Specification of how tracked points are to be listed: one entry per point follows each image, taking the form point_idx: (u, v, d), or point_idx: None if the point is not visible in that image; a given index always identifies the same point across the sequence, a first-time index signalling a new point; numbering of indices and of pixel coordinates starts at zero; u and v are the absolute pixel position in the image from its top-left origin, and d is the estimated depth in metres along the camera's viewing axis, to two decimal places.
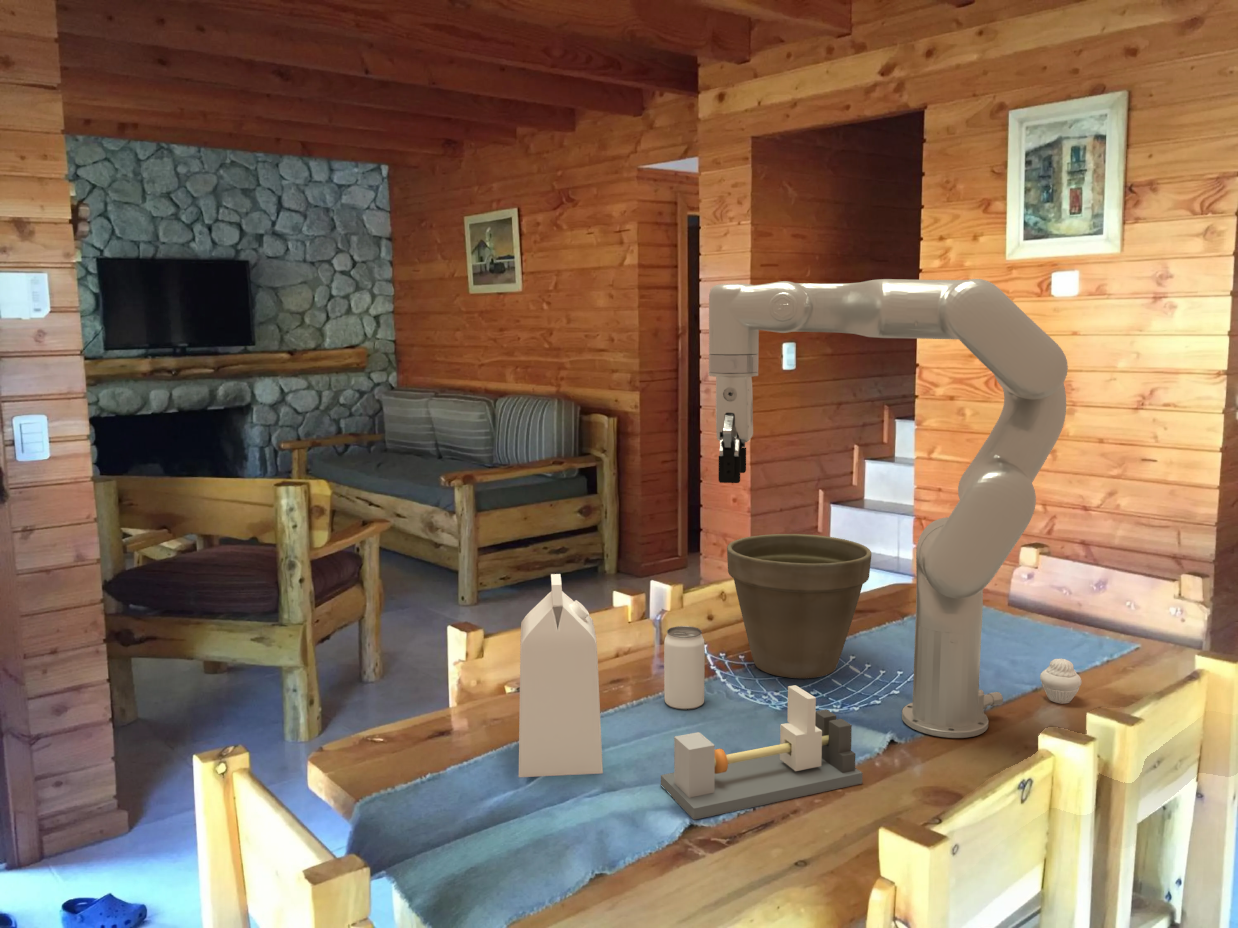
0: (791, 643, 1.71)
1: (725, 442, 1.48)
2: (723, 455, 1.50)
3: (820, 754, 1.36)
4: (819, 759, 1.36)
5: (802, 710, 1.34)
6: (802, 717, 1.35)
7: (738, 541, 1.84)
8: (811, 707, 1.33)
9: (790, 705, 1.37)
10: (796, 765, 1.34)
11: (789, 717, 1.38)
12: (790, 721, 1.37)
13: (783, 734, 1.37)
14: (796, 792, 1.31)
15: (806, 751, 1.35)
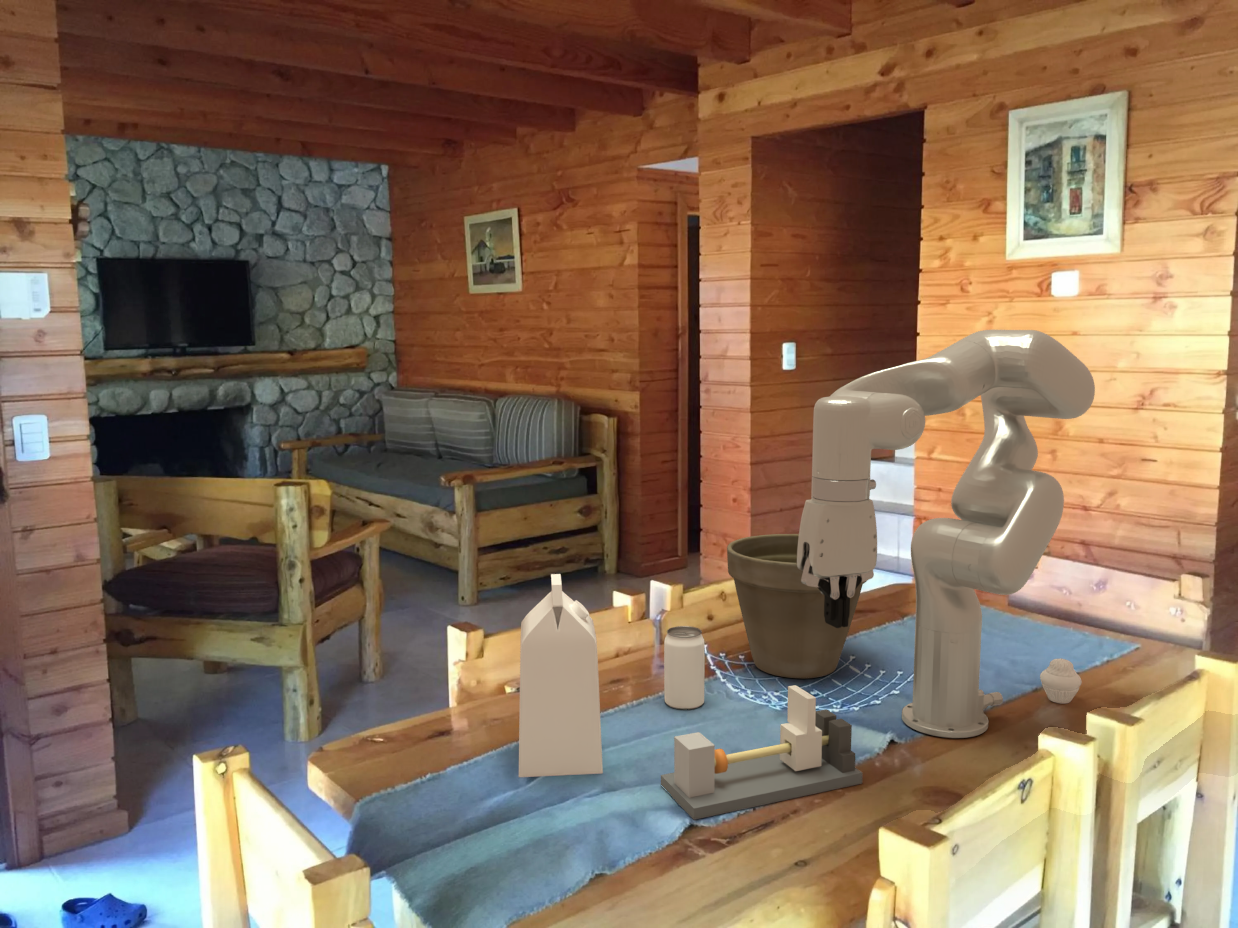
0: (791, 643, 1.71)
1: (860, 581, 1.36)
2: None
3: (820, 754, 1.36)
4: (819, 759, 1.36)
5: (802, 710, 1.34)
6: (802, 717, 1.35)
7: (738, 541, 1.84)
8: (811, 707, 1.33)
9: (790, 705, 1.37)
10: (796, 765, 1.34)
11: (789, 717, 1.38)
12: (790, 721, 1.37)
13: (783, 734, 1.37)
14: (796, 792, 1.31)
15: (806, 751, 1.35)
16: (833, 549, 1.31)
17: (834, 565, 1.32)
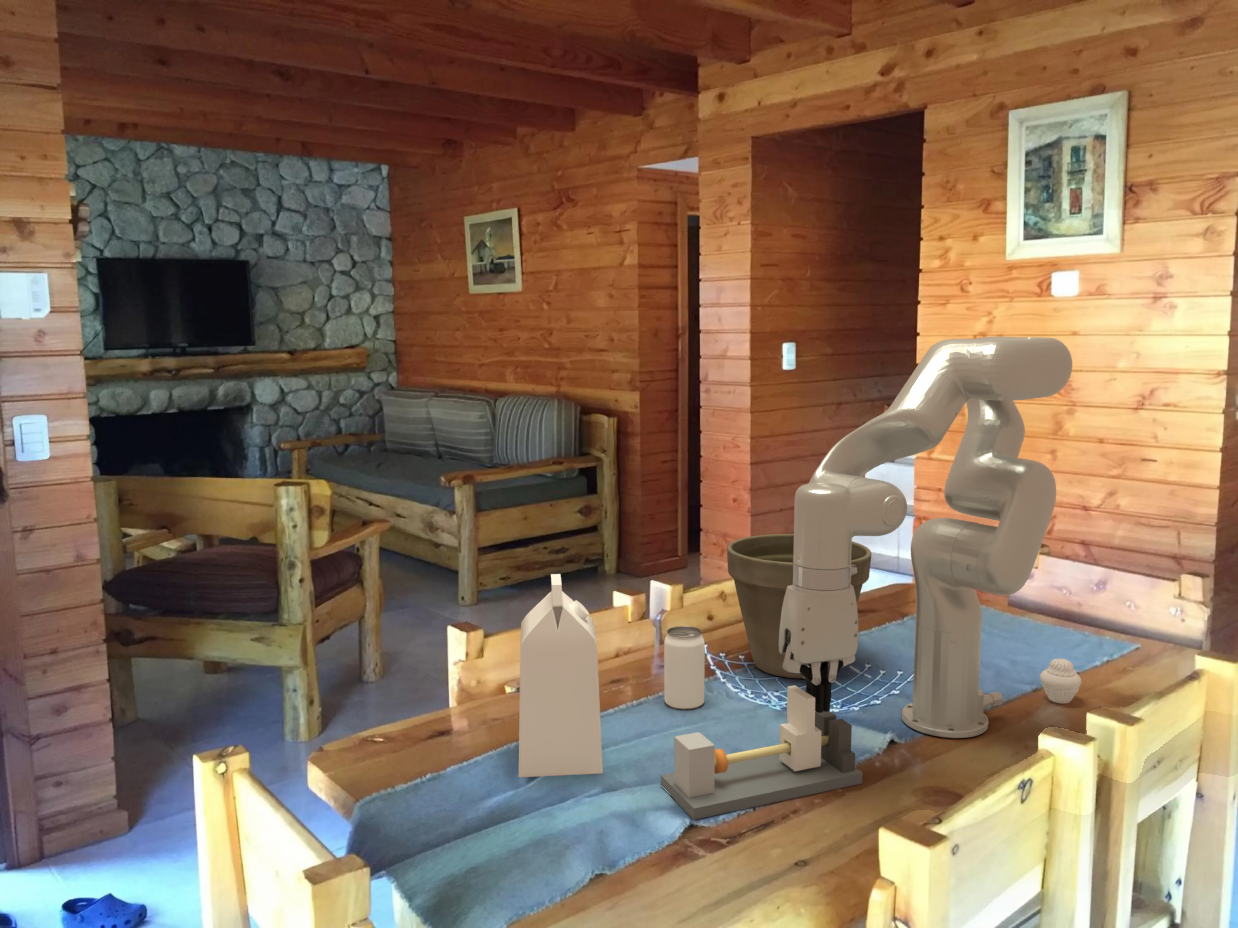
0: None
1: None
2: None
3: (820, 754, 1.36)
4: (818, 759, 1.36)
5: (802, 710, 1.34)
6: (801, 717, 1.35)
7: (738, 541, 1.84)
8: (810, 707, 1.33)
9: (790, 705, 1.37)
10: (796, 765, 1.34)
11: (788, 717, 1.38)
12: (789, 721, 1.37)
13: (783, 734, 1.37)
14: (796, 792, 1.31)
15: (806, 751, 1.35)
16: (814, 637, 1.32)
17: (815, 652, 1.33)
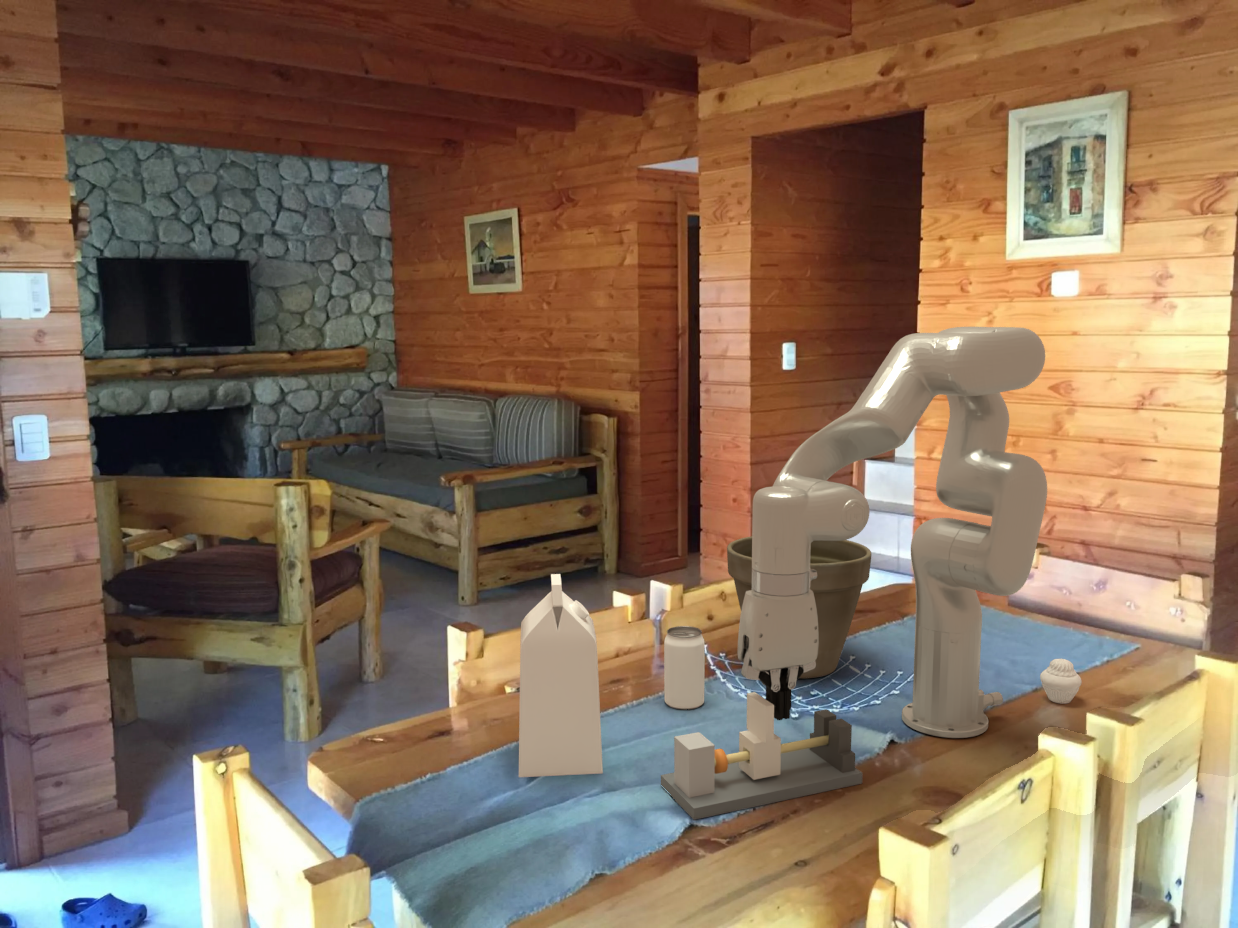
0: None
1: None
2: None
3: (779, 762, 1.33)
4: (778, 767, 1.33)
5: (760, 718, 1.32)
6: (760, 725, 1.32)
7: (738, 541, 1.84)
8: (769, 714, 1.31)
9: (749, 712, 1.35)
10: (754, 774, 1.32)
11: (748, 724, 1.35)
12: (749, 728, 1.35)
13: (742, 742, 1.34)
14: (796, 792, 1.31)
15: (765, 759, 1.32)
16: (772, 643, 1.30)
17: (774, 658, 1.30)
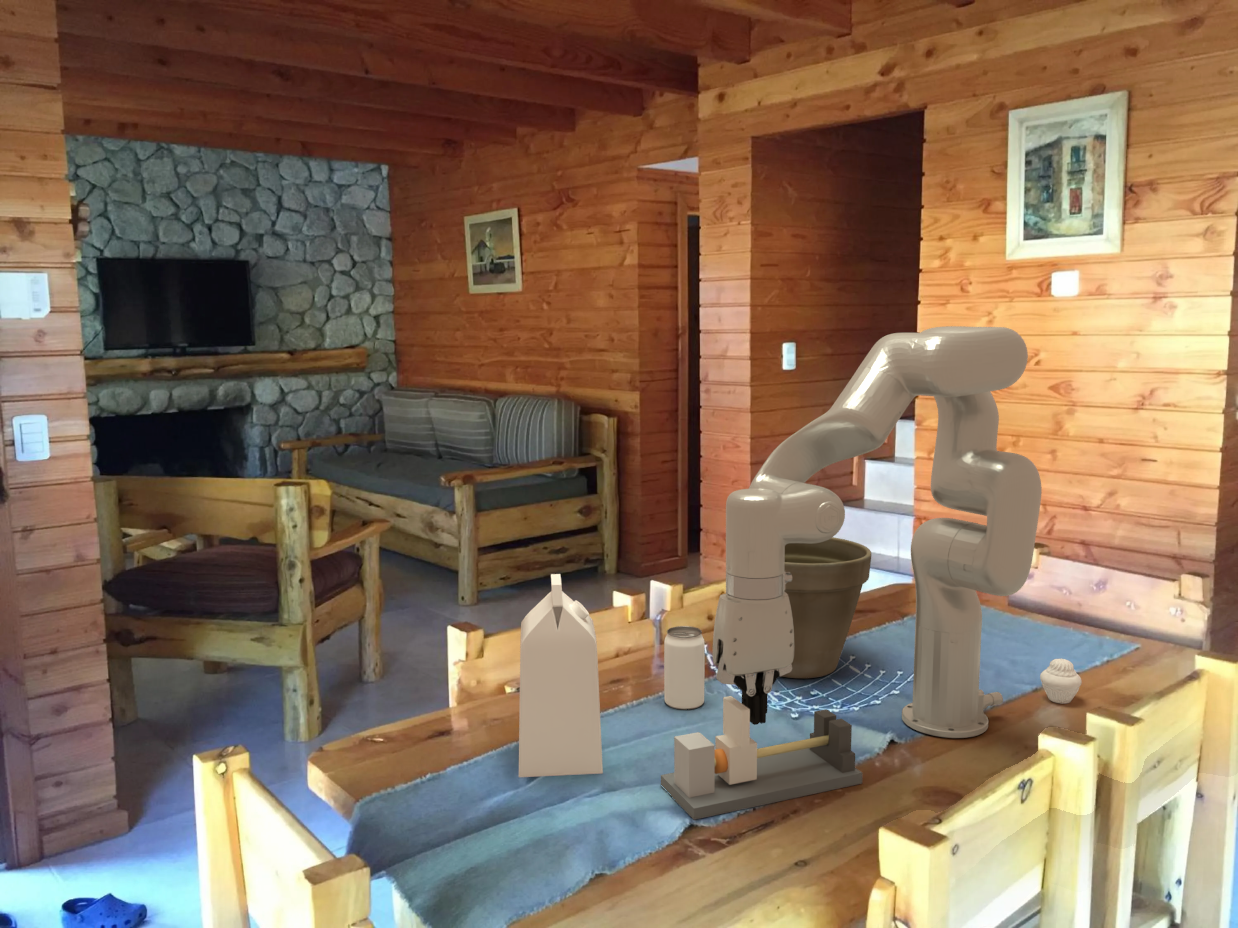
0: None
1: (778, 675, 1.33)
2: None
3: (755, 767, 1.32)
4: (754, 772, 1.32)
5: (736, 722, 1.31)
6: (736, 729, 1.31)
7: None
8: (745, 719, 1.30)
9: (725, 717, 1.34)
10: (730, 779, 1.31)
11: (724, 729, 1.34)
12: (725, 733, 1.34)
13: (718, 746, 1.33)
14: (796, 792, 1.31)
15: (741, 764, 1.31)
16: (746, 647, 1.28)
17: (749, 663, 1.29)
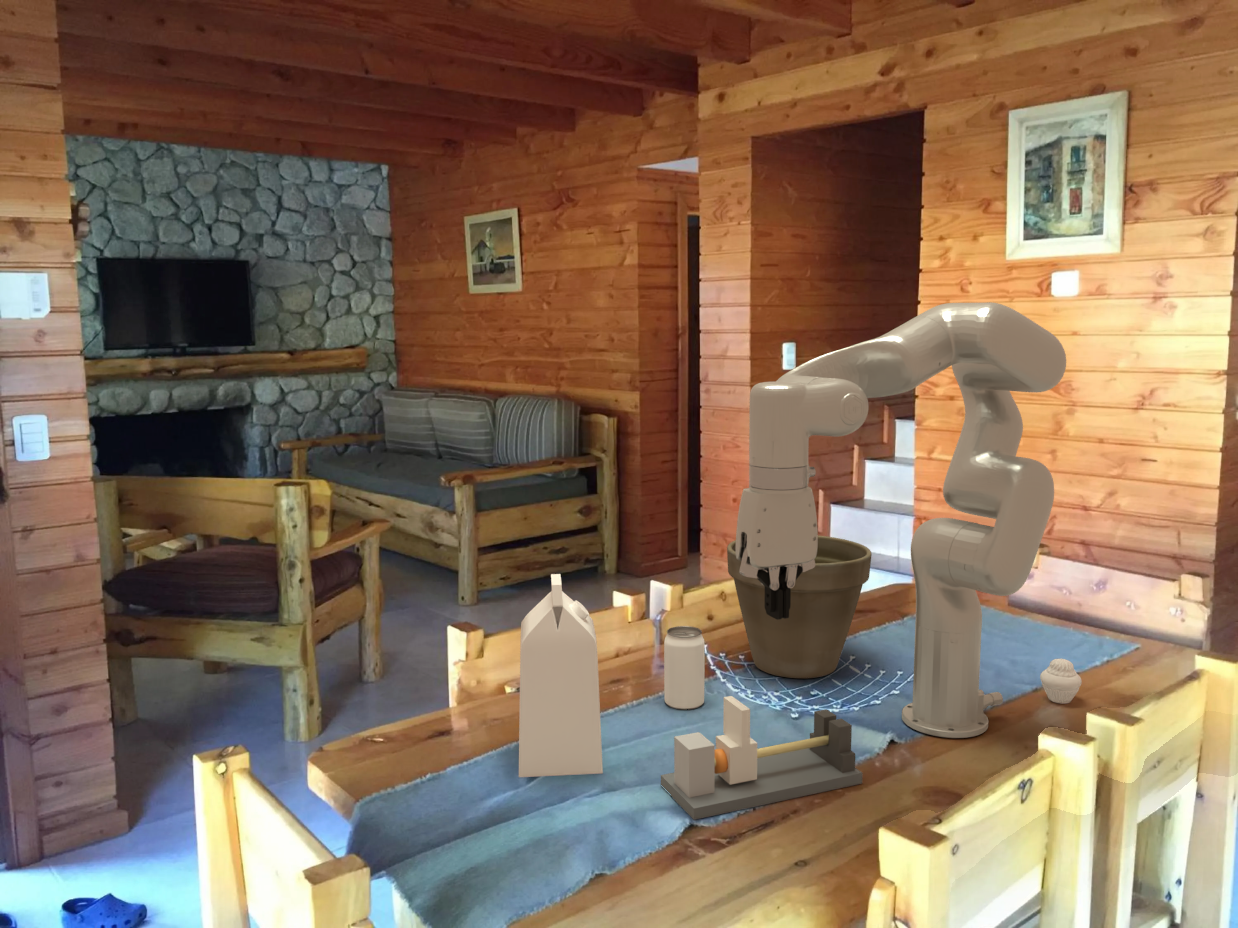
0: (791, 643, 1.71)
1: (802, 571, 1.33)
2: None
3: (756, 767, 1.32)
4: (755, 772, 1.32)
5: (737, 722, 1.31)
6: (736, 729, 1.31)
7: None
8: (745, 719, 1.30)
9: (726, 717, 1.34)
10: (731, 779, 1.31)
11: (725, 729, 1.34)
12: (726, 733, 1.34)
13: (719, 746, 1.33)
14: (796, 792, 1.31)
15: (741, 764, 1.31)
16: (770, 539, 1.28)
17: (772, 555, 1.28)
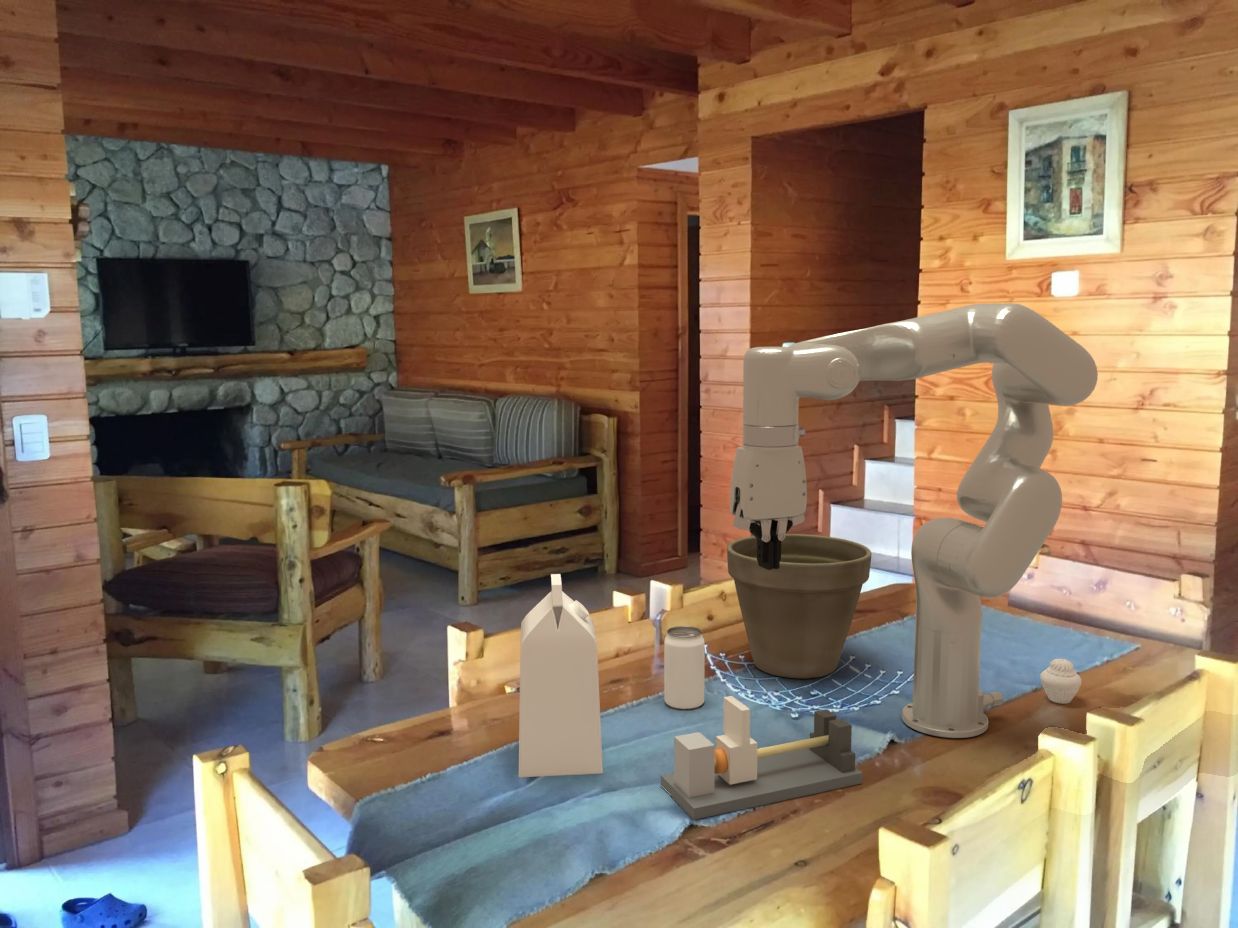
0: (791, 643, 1.71)
1: (792, 525, 1.42)
2: None
3: (756, 767, 1.32)
4: (755, 772, 1.32)
5: (737, 722, 1.31)
6: (736, 729, 1.31)
7: (738, 541, 1.84)
8: (745, 719, 1.30)
9: (726, 717, 1.34)
10: (731, 779, 1.31)
11: (725, 729, 1.34)
12: (726, 733, 1.34)
13: (719, 746, 1.33)
14: (796, 792, 1.31)
15: (741, 764, 1.31)
16: (762, 493, 1.37)
17: (764, 509, 1.37)
